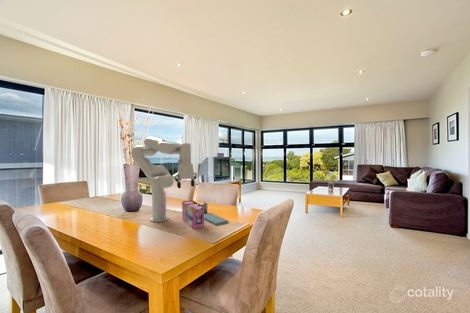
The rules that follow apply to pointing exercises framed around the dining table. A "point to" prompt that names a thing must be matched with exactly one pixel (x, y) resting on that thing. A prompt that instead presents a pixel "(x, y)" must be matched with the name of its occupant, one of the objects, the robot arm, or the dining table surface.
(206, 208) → the metal canister
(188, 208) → the gum box
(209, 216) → the board
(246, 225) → the dining table surface
